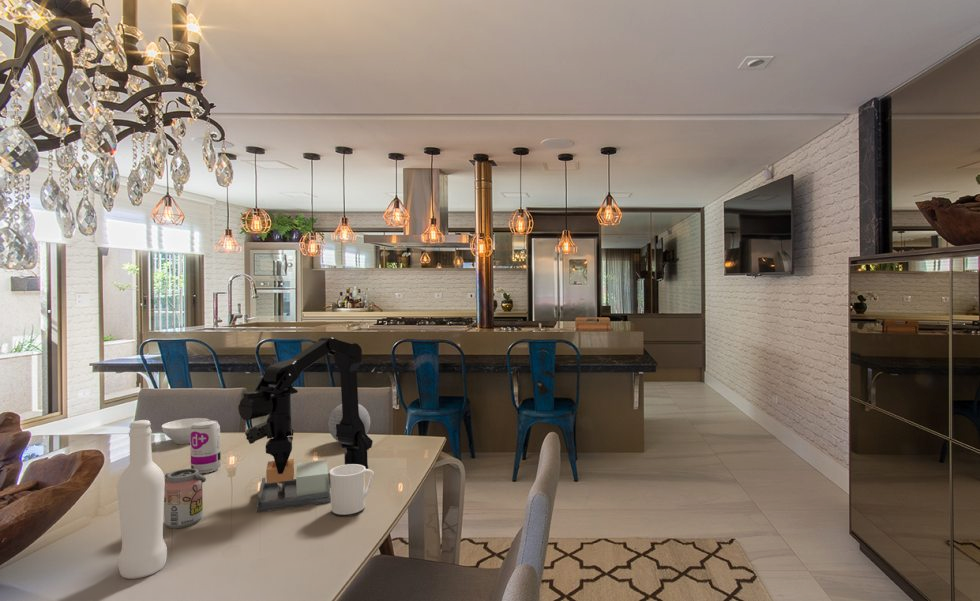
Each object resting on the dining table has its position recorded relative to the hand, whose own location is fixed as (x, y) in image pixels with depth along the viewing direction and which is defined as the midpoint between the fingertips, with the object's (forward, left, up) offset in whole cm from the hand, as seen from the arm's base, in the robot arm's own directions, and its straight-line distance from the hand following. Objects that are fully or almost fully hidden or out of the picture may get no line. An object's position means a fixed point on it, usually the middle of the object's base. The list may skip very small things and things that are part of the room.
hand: (281, 469), depth 142 cm
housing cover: (-8, 0, -6) cm, 10 cm away
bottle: (+25, +30, -8) cm, 40 cm away
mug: (-17, +15, -8) cm, 24 cm away
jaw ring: (0, 0, -2) cm, 2 cm away
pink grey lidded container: (+22, +7, -8) cm, 24 cm away
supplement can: (+24, -33, -8) cm, 41 cm away
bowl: (+37, -73, -8) cm, 82 cm away
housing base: (-3, 0, -8) cm, 8 cm away
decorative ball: (-21, -47, -8) cm, 52 cm away
